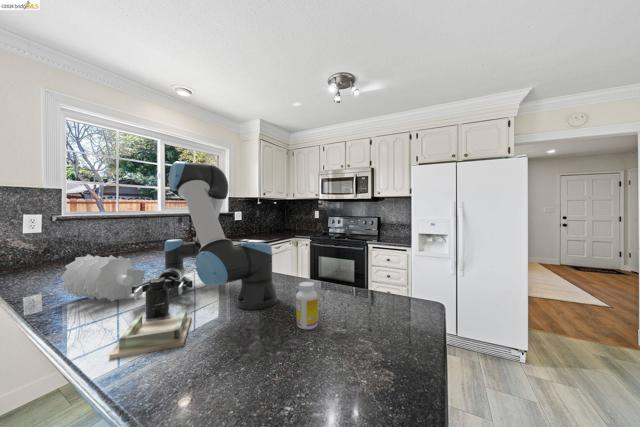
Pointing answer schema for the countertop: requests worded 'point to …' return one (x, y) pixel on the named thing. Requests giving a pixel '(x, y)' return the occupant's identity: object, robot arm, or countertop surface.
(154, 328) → the beige tray
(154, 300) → the supplement bottle
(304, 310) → the supplement bottle
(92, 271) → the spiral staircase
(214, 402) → the countertop surface
